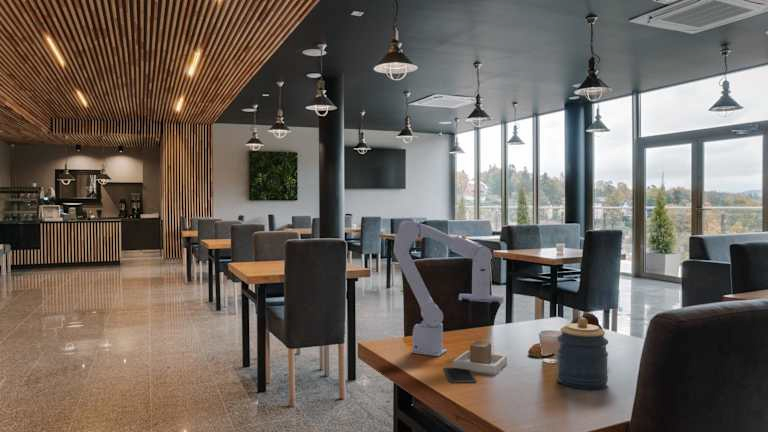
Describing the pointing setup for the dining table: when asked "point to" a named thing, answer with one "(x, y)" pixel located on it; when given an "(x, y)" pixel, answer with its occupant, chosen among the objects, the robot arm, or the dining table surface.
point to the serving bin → (492, 368)
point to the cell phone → (459, 375)
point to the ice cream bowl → (589, 320)
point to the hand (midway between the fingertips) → (480, 323)
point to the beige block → (480, 352)
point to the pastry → (535, 350)
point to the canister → (582, 356)
